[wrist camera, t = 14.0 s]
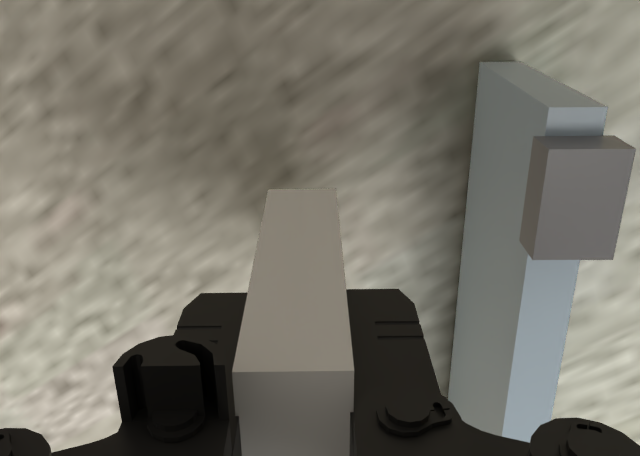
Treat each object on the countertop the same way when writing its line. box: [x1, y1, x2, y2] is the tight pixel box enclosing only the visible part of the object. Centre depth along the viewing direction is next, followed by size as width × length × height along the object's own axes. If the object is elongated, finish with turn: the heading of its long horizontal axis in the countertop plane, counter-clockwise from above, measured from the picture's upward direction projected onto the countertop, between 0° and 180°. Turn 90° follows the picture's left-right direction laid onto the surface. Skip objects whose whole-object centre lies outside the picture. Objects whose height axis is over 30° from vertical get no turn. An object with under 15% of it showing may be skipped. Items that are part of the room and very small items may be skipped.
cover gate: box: [448, 62, 636, 443], centre depth 15 cm, size 12×2×6 cm, turn 0°
